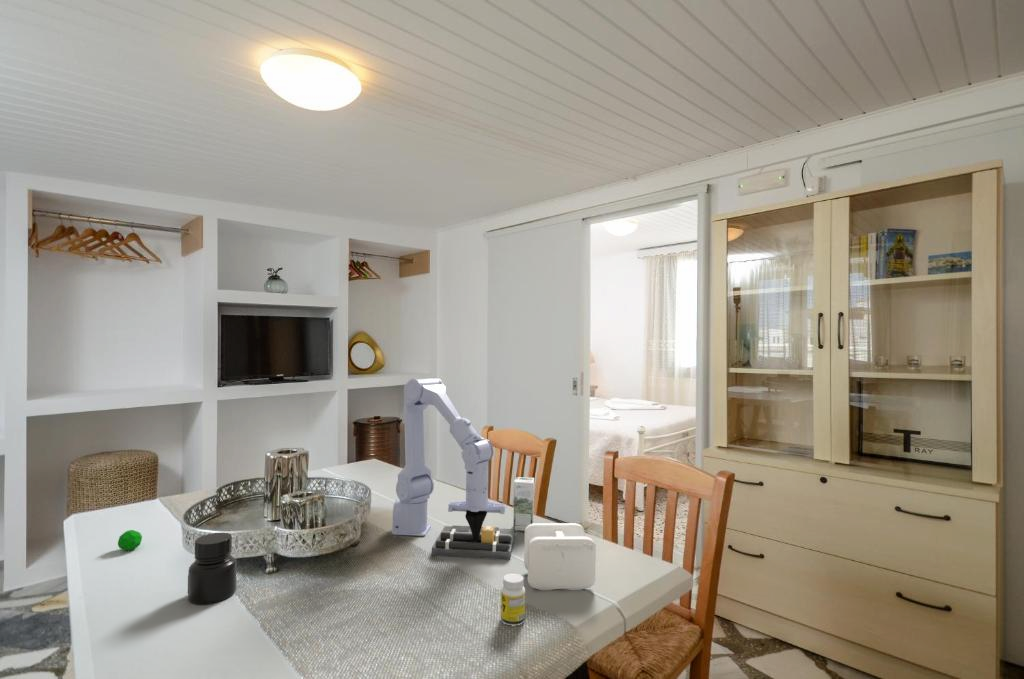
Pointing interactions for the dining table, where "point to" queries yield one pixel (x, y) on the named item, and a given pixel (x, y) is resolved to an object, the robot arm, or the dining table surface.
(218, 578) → the ink bottle
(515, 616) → the supplement bottle
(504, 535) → the cable bundles
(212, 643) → the dining table surface
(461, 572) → the dining table surface
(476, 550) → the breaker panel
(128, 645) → the dining table surface
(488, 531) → the block
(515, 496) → the syrup box
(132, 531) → the polyhedron
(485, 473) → the robot arm
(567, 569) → the cable organizer
